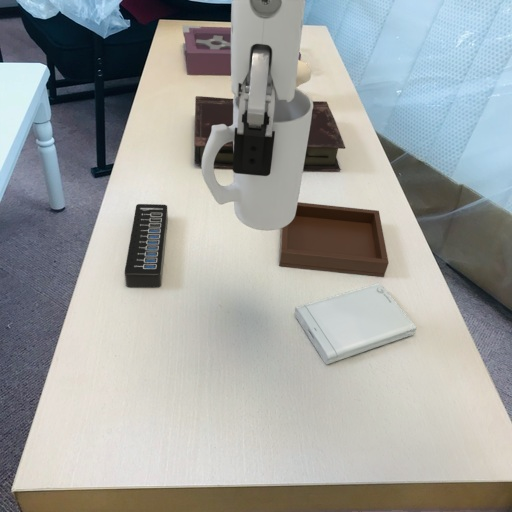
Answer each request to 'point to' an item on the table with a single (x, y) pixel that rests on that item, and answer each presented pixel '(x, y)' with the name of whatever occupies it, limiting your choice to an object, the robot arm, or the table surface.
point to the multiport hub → (147, 246)
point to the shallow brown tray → (334, 240)
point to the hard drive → (353, 322)
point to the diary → (221, 112)
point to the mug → (282, 167)
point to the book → (208, 50)
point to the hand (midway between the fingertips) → (253, 148)
